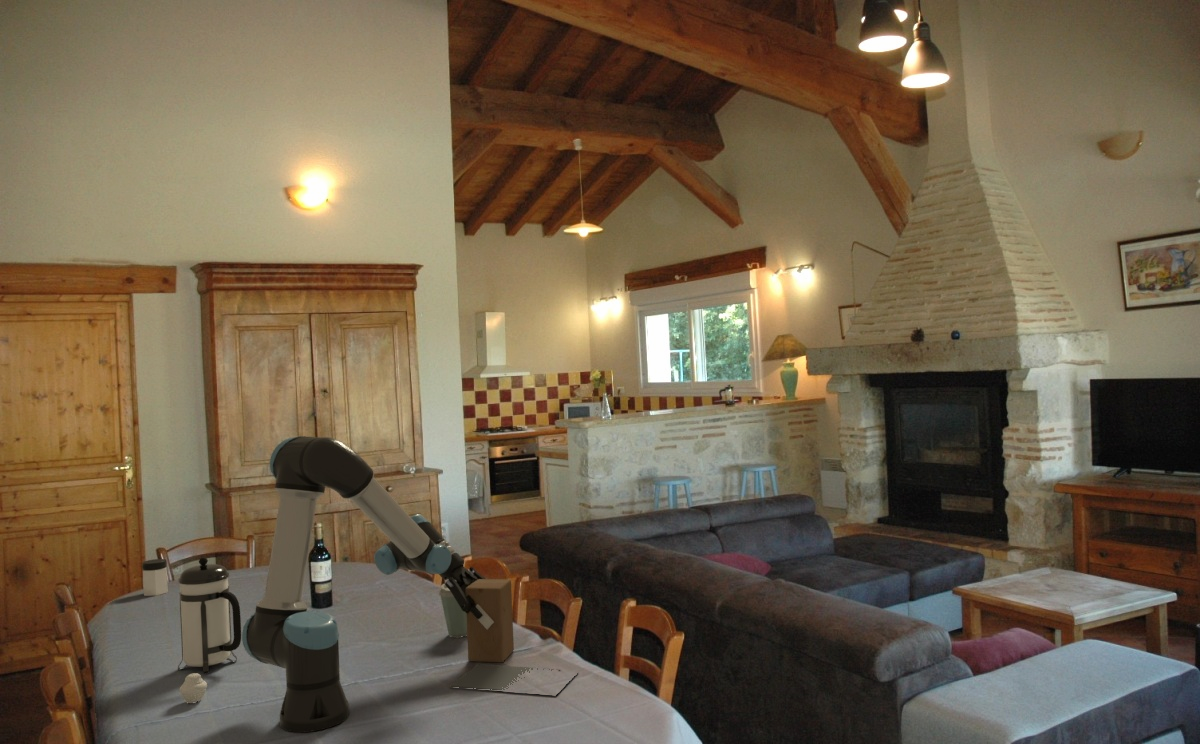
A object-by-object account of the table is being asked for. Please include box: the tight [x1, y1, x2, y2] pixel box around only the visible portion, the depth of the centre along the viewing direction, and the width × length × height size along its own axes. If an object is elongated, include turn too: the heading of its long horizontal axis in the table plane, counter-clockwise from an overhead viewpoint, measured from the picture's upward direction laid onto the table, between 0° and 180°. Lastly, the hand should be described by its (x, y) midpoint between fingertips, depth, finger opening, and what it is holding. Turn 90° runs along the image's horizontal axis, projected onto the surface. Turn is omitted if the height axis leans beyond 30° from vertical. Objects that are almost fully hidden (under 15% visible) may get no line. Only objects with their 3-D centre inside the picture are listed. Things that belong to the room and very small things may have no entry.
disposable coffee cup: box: [438, 583, 467, 638], centre depth 261 cm, size 11×11×15 cm
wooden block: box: [465, 578, 515, 663], centre depth 240 cm, size 10×10×20 cm
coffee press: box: [177, 556, 242, 674], centre depth 242 cm, size 17×16×30 cm
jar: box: [141, 558, 168, 597], centre depth 328 cm, size 9×8×12 cm
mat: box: [449, 663, 558, 690], centre depth 220 cm, size 16×28×1 cm, turn 72°
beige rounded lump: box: [179, 672, 208, 704], centre depth 215 cm, size 6×6×7 cm
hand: (499, 619), depth 239 cm, fingers closed on wooden block, 11 cm apart
